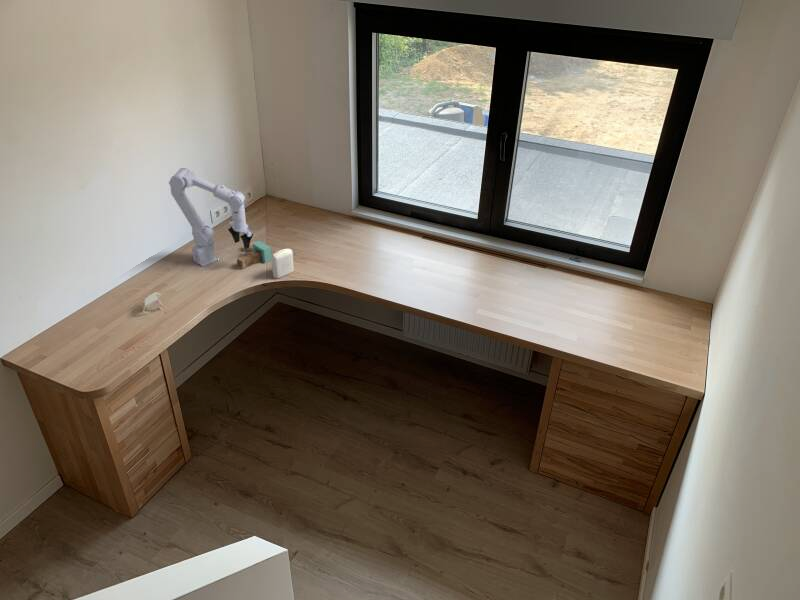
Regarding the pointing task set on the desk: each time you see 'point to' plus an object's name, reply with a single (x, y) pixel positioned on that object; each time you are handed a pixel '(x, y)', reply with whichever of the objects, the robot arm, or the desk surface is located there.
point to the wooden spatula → (249, 259)
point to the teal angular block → (263, 250)
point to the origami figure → (152, 300)
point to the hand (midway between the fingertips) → (242, 244)
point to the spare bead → (250, 247)
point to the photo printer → (282, 263)
